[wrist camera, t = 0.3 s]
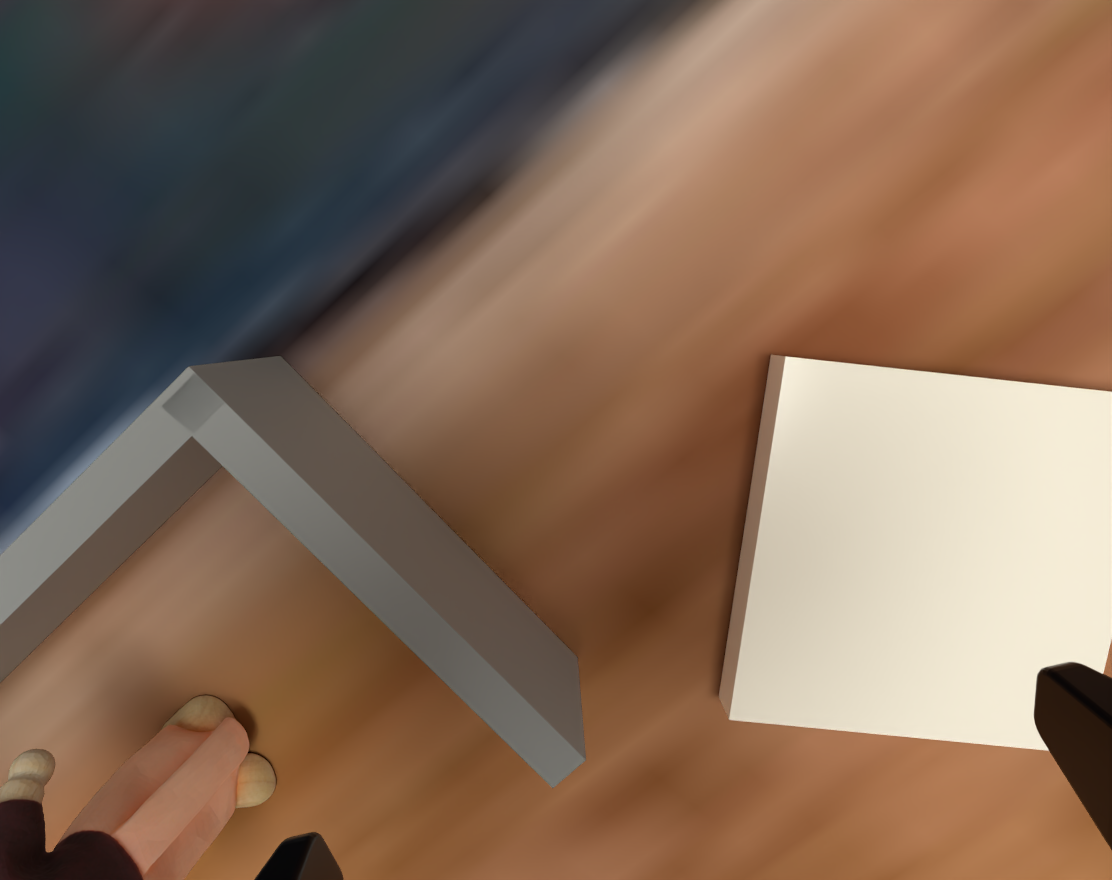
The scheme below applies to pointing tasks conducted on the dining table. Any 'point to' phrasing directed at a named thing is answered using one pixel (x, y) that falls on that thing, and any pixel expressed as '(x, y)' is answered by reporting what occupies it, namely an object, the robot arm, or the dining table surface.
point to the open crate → (321, 526)
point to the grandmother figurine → (139, 804)
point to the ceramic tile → (919, 552)
